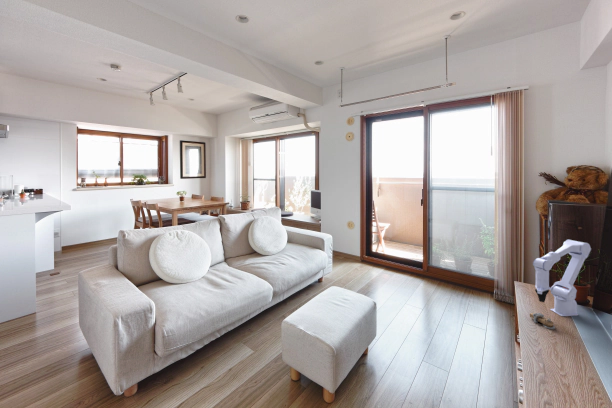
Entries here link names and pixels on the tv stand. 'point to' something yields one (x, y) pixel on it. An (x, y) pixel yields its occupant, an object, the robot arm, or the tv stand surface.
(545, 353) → the tv stand surface
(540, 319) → the link
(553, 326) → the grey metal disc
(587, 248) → the robot arm
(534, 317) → the block
